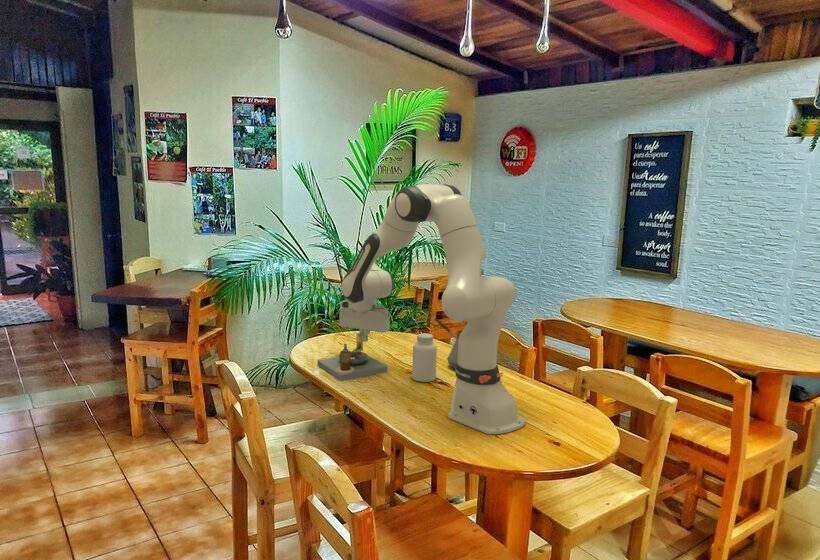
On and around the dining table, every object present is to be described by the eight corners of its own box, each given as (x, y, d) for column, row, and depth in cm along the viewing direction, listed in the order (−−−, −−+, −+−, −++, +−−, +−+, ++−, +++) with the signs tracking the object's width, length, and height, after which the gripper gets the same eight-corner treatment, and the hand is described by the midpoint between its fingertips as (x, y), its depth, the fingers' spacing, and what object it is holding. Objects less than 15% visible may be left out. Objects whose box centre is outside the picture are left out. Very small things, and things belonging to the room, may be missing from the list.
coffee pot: (486, 368, 201) (488, 327, 199) (463, 375, 194) (464, 332, 191) (444, 353, 217) (445, 315, 215) (422, 359, 210) (423, 320, 208)
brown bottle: (352, 369, 190) (352, 344, 189) (343, 371, 188) (343, 345, 187) (347, 366, 193) (347, 341, 191) (338, 368, 191) (338, 343, 190)
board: (387, 371, 196) (387, 364, 196) (340, 381, 186) (340, 374, 186) (362, 357, 211) (362, 351, 211) (317, 365, 201) (317, 358, 201)
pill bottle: (426, 384, 185) (427, 340, 182) (407, 378, 190) (408, 335, 187) (440, 377, 191) (441, 334, 188) (421, 372, 196) (422, 330, 193)
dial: (373, 355, 206) (374, 334, 205) (362, 367, 194) (362, 344, 192) (347, 353, 209) (347, 332, 207) (334, 364, 196) (334, 341, 195)
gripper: (393, 305, 200) (393, 343, 202) (347, 299, 210) (348, 335, 213) (382, 308, 194) (383, 347, 196) (336, 302, 205) (337, 339, 207)
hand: (364, 341), depth 205 cm, fingers closed, pressing on dial
